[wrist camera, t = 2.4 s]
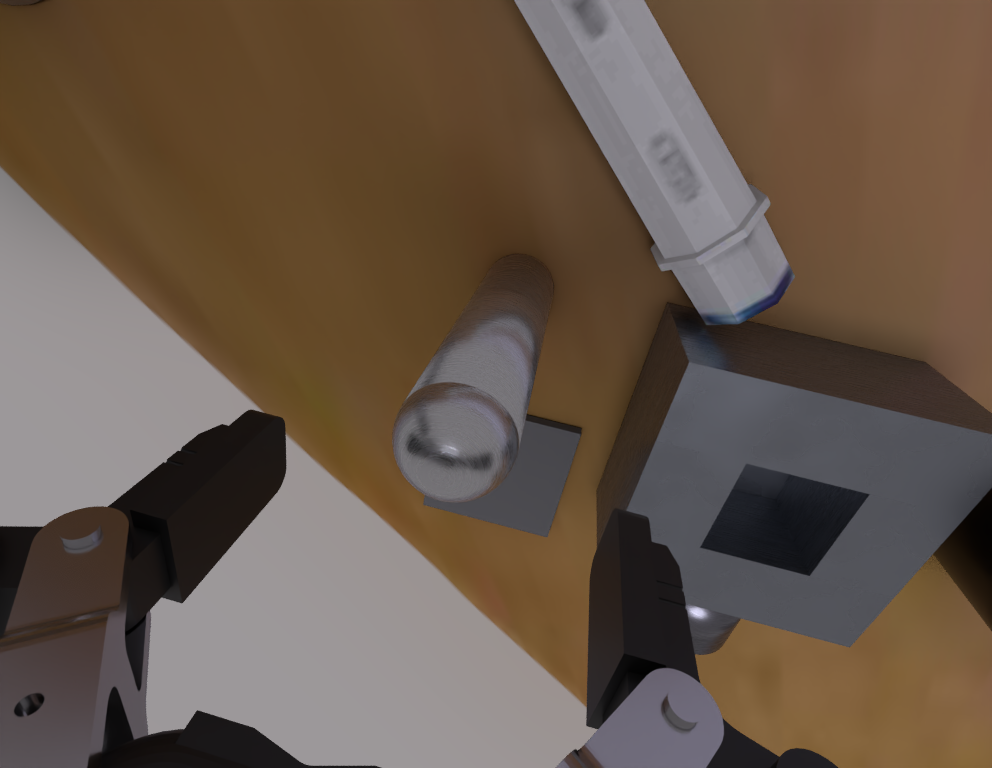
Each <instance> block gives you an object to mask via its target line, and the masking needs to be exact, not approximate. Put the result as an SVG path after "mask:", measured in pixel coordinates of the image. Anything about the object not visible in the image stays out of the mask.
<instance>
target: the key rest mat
mask: <svg viewBox="0 0 992 768" xmlns="http://www.w3.org/2000/svg"><path fill="white" fill-rule="evenodd" d="M580 436H581V428H578V427H574V426H570V425H566V424H562V423H558V422H554V421H550V420H546V419H542V418H538V417H534V416H530V415H526V419H525V424H524V428H523V433H522V437H521V442H520V446H519V451H518V455H517V458H516V460H515V463H514V466H513V467H512V469H511V471H510V473H509V474H508V476H507V477H506V478H505V480H504V481H503V482H502V483H501V484H500V485H499V486H498V487H497V488H495V489H494V490H493V491H491V492H490V493H488V494H486V495H484V496H483V497H480V498H477V499H474V500H471V501H467V502H444V501H439V500H436V499H433V498H431V497H428V496H426V495H425V498H424V505H427V506H430V507H434V508H438V509H442V510H446V511H449V512H453V513H457V514H461V515H465V516H468V517H472V518H476V519H480V520H484V521H487V522H491V523H495V524H499V525H503V526H506V527H510V528H514V529H518V530H522V531H525V532H529V533H533V534H537V535H541V536H544V537H547V536H548V533H549V530H550V527H551V524H552V521H553V518H554V515H555V512H556V509H557V506H558V503H559V500H560V497H561V494H562V491H563V488H564V485H565V482H566V479H567V476H568V473H569V470H570V466H571V463H572V460H573V457H574V454H575V451H576V448H577V445H578V442H579V439H580Z"/></svg>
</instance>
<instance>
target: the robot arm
mask: <svg viewBox="0 0 992 768" xmlns="http://www.w3.org/2000/svg"><path fill="white" fill-rule="evenodd" d="M38 1H41V0H0V3H2V4H8V5H28V4H33V3H36V2H38ZM285 473H286V436H285V422H284V420H283V418H281V417H278V416H274V415H270V414H266V413H263V412H259V411H255V410H248V411H246V412H245V413H244V414H242V415H241V416H240V417H239V418H238V419H237V420H235V421H234V422H233V423H232V424H231V425H229V426H227V425H223V424H222V425H219V426H217V427H214V428H212V429H210V430H208V431H205V432H203V433H200V434H198V435H197V436H196V437H195V438H194V439H192V440H191V441H190V442H188V443H187V444H186V445H185V446H183V447H182V449H181V451H177V452H176V453H175V454H173V455H172V456H171V457H170V458H168V459H167V462H166V463H164V462H163V463H162V464H161V465H160V466H158V467H157V468H156V469H155V470H154V471H152V472H151V473H150V474H148V475H147V476H146V477H145V478H143V479H142V480H141V481H139V482H138V483H137V484H136V485H134V486H133V487H132V488H131V489H130V490H129V491H127V492H126V493H125V494H123V495H122V496H121V497H120V498H118V499H117V500H116V501H114V502H113V503H112V504H111V505H109V506H108V507H88V508H83V509H79V510H75V511H72V512H69V513H66V514H64V515H62V516H60V517H58V518H56V519H54V520H53V521H51V522H49V523H48V524H47V525H46V526H44V527H7V526H6V527H3V526H1V527H0V768H380V767H377V766H309V765H305V764H303V763H301V762H299V761H298V760H297V759H295V758H294V757H293V756H291V755H290V754H289V753H287V752H286V751H284V750H283V749H282V748H280V747H279V746H278V745H276V744H275V743H274V742H272V741H271V740H269V739H268V738H267V737H266V736H264V735H263V734H261V733H260V732H259V731H257V730H256V729H255V728H252V727H249V726H246V725H243V724H240V723H236V722H233V721H229V720H227V719H224V718H220V717H217V716H214V715H210V714H208V713H204V712H201V711H196V713H195V714H194V716H193V717H192V719H191V720H190V722H189V723H188V725H187V726H186V728H185V729H178V730H171V731H163V732H159V733H155V734H151V735H148V725H147V716H146V691H147V675H148V659H149V658H148V657H149V643H150V628H151V613H150V609H151V608H152V607H153V606H154V605H155V604H156V603H157V602H158V601H159V599H160V598H161V597H163V598H166V599H169V600H173V601H176V602H180V603H183V602H184V601H185V600H186V598H187V597H188V596H189V595H190V594H191V593H192V591H193V590H194V589H195V588H196V587H197V586H198V584H199V583H200V582H201V581H202V580H203V579H204V577H205V576H206V575H207V574H208V573H209V571H210V570H211V569H212V568H213V567H214V566H215V564H216V563H217V562H218V561H219V560H220V559H221V557H222V556H223V555H224V554H225V553H226V552H227V550H228V549H229V548H230V547H231V546H232V545H233V543H234V542H235V541H236V540H237V539H238V538H239V536H240V535H241V534H242V533H243V531H244V530H245V529H246V528H247V527H248V526H249V525H250V523H251V522H252V521H253V520H254V519H255V518H256V516H257V515H258V514H259V513H260V512H261V510H262V509H263V508H264V507H265V506H266V505H267V503H268V502H269V501H270V500H271V499H272V498H273V496H274V495H275V494H276V493H277V492H278V490H279V488H280V487H281V485H282V482H283V480H284V477H285ZM682 590H683V584H682V578H681V573H680V567H679V565H678V563H677V562H676V560H675V558H674V557H673V555H672V553H671V552H670V550H669V548H668V547H667V546H666V545H662V544H659V543H655V542H652V539H651V530H650V522H649V518H648V517H647V516H644V515H640V514H636V513H632V512H629V511H625V510H621V509H617V508H615V509H614V510H613V511H612V513H611V516H610V518H609V521H608V523H607V526H606V528H605V530H604V533H603V535H602V538H601V540H600V543H599V545H598V548H597V550H596V553H595V556H594V559H593V563H592V568H591V574H590V592H589V635H588V678H587V722H586V725H587V726H588V727H592V728H595V729H598V730H597V731H596V733H594V735H593V736H592V737H591V738H590V739H589V740H588V741H587V743H585V745H584V746H583V747H582V748H580V749H579V750H578V751H577V750H573V751H572V752H571V753H570V754H569V755H567V756H566V757H565V758H564V759H563V760H562V761H561V763H560V764H559V765H558V766H557V767H556V768H838V767H837V766H836V765H834V764H833V763H832V762H830V761H829V760H828V759H826V758H824V757H823V756H821V755H819V754H817V753H815V752H813V751H810V750H806V749H799V748H795V749H790V750H788V751H786V752H784V753H783V754H782V755H781V756H780V757H779V756H777V755H775V754H774V753H772V752H771V751H769V750H767V749H766V748H764V747H762V746H761V745H759V744H758V743H756V742H754V741H753V740H751V739H750V738H748V737H746V736H745V735H743V734H742V733H740V732H739V731H737V730H736V729H734V728H733V727H732V726H731V725H730V724H728V723H727V722H726V721H725V720H724V719H723V718H722V716H721V713H720V710H719V708H718V706H717V704H716V702H715V701H714V699H713V698H712V696H711V695H710V694H709V692H708V691H707V690H706V689H705V688H704V687H703V686H702V685H701V684H700V680H699V676H698V670H697V665H696V659H695V653H694V647H693V642H692V636H691V630H690V624H689V619H688V613H687V609H685V608H686V601H685V596H684V592H683V591H682Z"/></svg>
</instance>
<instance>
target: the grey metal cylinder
mask: <svg viewBox="0 0 992 768" xmlns="http://www.w3.org/2000/svg"><path fill="white" fill-rule="evenodd" d="M553 293H554V284H553V279H552V276H551V274H550V272H549V270H548V269H547V268H546V266H545V265H544V264H543V263H542V262H540V261H539V260H538V259H536V258H534V257H532V256H529V255H525V254H511V255H508V256H505V257H503V258H501V259H499V260H498V261H497V262H496V263H495V264H494V265H493V266H492V267H491V268H490V270H489V271H488V273H487V274H486V276H485V278H484V279H483V281H482V282H481V284H480V285H479V287H478V288H477V290H476V291H475V293H474V295H473V296H472V298H471V299H470V301H469V302H468V304H467V305H466V307H465V308H464V310H463V312H462V313H461V315H460V316H459V318H458V319H457V321H456V322H455V324H454V326H453V327H452V329H451V330H450V332H449V333H448V335H447V336H446V338H445V339H444V341H443V343H442V344H441V346H440V347H439V349H438V350H437V352H436V353H435V355H434V356H433V358H432V360H431V361H430V363H429V364H428V366H427V367H426V369H425V370H424V372H423V373H422V375H421V377H420V378H419V380H418V381H417V383H416V384H415V386H414V387H413V389H412V390H411V392H410V394H409V395H408V397H407V398H406V400H405V401H404V403H403V404H402V406H401V408H400V410H399V412H398V414H397V417H396V419H395V423H394V427H393V437H392V444H393V451H394V456H395V459H396V462H397V464H398V466H399V468H400V470H401V472H402V474H403V475H404V477H405V478H406V479H407V480H408V481H409V483H410V484H411V485H412V486H414V487H415V488H416V489H417V490H418V491H420V492H421V493H423V494H425V495H426V496H428V497H431V498H433V499H436V500H439V501H444V502H467V501H471V500H474V499H477V498H480V497H483V496H484V495H486V494H488V493H490V492H491V491H493V490H494V489H495V488H497V487H498V486H499V485H500V484H501V483H502V482H503V481H504V480H505V478H506V477H507V476H508V474H509V473H510V471H511V469H512V467H513V466H514V463H515V460H516V458H517V455H518V451H519V446H520V442H521V437H522V433H523V428H524V424H525V419H526V415H527V410H528V406H529V401H530V397H531V392H532V388H533V383H534V379H535V374H536V370H537V365H538V361H539V356H540V352H541V347H542V343H543V338H544V334H545V330H546V325H547V321H548V316H549V312H550V307H551V303H552V298H553Z"/></svg>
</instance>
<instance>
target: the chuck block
mask: <svg viewBox="0 0 992 768" xmlns="http://www.w3.org/2000/svg"><path fill="white" fill-rule="evenodd" d="M991 488H992V413H990V412H989V411H988V410H987V409H985V408H984V407H983V406H981V405H980V404H979V403H978V402H976V401H975V400H974V399H972V398H971V397H970V396H968V395H967V394H966V393H965V392H963V391H962V390H961V389H959V388H958V387H957V386H956V385H954V384H953V383H952V382H950V381H949V380H948V379H946V378H945V377H944V376H943V375H941V374H940V373H939V372H937V371H936V370H935V369H934V368H932V367H931V366H930V365H928V364H927V363H926V362H921V361H917V360H913V359H909V358H904V357H900V356H896V355H891V354H887V353H883V352H878V351H874V350H870V349H865V348H861V347H857V346H853V345H848V344H844V343H840V342H835V341H831V340H827V339H822V338H818V337H814V336H810V335H805V334H801V333H797V332H792V331H788V330H784V329H779V328H775V327H771V326H767V325H762V324H758V323H754V322H749V321H744V322H742V323H740V324H723V325H706V323H705V322H704V320H703V319H702V317H701V316H700V314H699V312H698V311H697V309H693V308H689V307H685V306H680V305H676V304H672V303H668V302H667V304H666V307H665V310H664V312H663V315H662V318H661V320H660V323H659V326H658V328H657V331H656V334H655V336H654V339H653V342H652V345H651V347H650V350H649V353H648V355H647V358H646V361H645V363H644V366H643V369H642V371H641V374H640V377H639V379H638V382H637V385H636V387H635V390H634V393H633V395H632V398H631V401H630V403H629V406H628V409H627V411H626V414H625V417H624V419H623V422H622V425H621V427H620V430H619V433H618V435H617V438H616V441H615V443H614V446H613V449H612V452H611V454H610V457H609V460H608V462H607V465H606V468H605V470H604V473H603V476H602V478H601V481H600V484H599V486H598V489H597V548H598V545H599V543H600V540H601V538H602V535H603V533H604V530H605V528H606V526H607V523H608V521H609V518H610V516H611V513H612V511H613V510H614V509H615V508H617V509H621V510H625V511H629V512H632V513H636V514H640V515H644V516H647V517H648V518H649V522H650V530H651V539H652V542H655V543H659V544H662V545H666V546H667V547H668V548H669V550H670V552H671V553H672V555H673V557H674V558H675V560H676V562H677V563H678V565H679V567H680V573H681V578H682V584H683V590H682V591H683V592H684V596H685V601H686V608H685V609H687V613H688V619H689V624H690V630H691V636H692V642H693V647H694V653H695V654H699V655H704V654H710V653H713V652H716V651H717V650H719V649H720V648H721V647H722V646H723V644H724V643H725V641H726V640H727V639H728V637H729V636H730V634H731V633H732V631H733V630H734V628H735V627H736V625H737V624H738V622H739V621H740V619H741V618H742V619H745V620H749V621H753V622H757V623H760V624H764V625H768V626H772V627H775V628H779V629H783V630H787V631H790V632H794V633H798V634H802V635H805V636H809V637H813V638H817V639H820V640H824V641H828V642H832V643H835V644H839V645H843V646H847V647H850V646H851V645H852V644H853V643H854V642H855V641H856V640H857V639H858V637H859V636H860V635H861V634H862V633H863V632H864V631H865V630H866V629H867V627H868V626H869V625H870V624H871V623H872V622H873V621H874V620H875V618H876V617H877V616H878V615H879V614H880V613H881V612H882V611H883V609H884V608H885V607H886V606H887V605H888V604H889V603H890V602H891V600H892V599H893V598H894V597H895V596H896V595H897V594H898V593H899V591H900V590H901V589H902V588H903V587H904V586H905V585H906V584H907V582H908V581H909V580H910V579H911V578H912V577H913V576H914V575H915V573H916V572H917V571H918V570H919V569H920V568H921V567H922V566H923V564H924V563H925V562H926V561H927V560H928V559H929V558H930V557H931V555H932V554H933V553H934V552H935V551H936V550H937V549H938V548H939V547H940V545H941V544H942V543H943V542H944V541H945V540H946V539H947V538H948V536H949V535H950V534H951V533H952V532H953V531H954V530H955V529H956V527H957V526H958V525H959V524H960V523H961V522H962V521H963V520H964V518H965V517H966V516H967V515H968V514H969V513H970V512H971V511H972V509H973V508H974V507H975V506H976V505H977V504H978V503H979V502H980V500H981V499H982V498H983V497H984V496H985V495H986V494H987V493H988V491H989V490H990V489H991Z"/></svg>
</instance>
